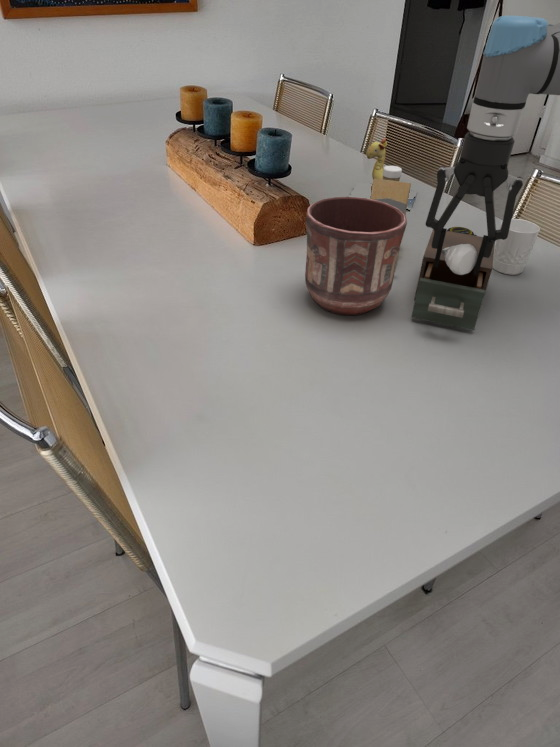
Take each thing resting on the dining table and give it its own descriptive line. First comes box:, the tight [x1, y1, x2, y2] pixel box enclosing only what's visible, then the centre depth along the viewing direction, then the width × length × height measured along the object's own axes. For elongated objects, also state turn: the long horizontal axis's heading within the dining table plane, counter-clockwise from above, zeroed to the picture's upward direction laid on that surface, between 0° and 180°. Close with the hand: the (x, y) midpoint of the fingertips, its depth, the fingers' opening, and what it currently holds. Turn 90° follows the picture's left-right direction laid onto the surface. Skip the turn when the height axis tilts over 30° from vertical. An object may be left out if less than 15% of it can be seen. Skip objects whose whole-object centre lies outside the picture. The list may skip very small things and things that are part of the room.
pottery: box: [304, 196, 408, 316], centre depth 102 cm, size 18×18×18 cm
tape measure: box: [446, 226, 478, 236], centre depth 129 cm, size 7×7×4 cm
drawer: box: [411, 262, 486, 331], centre depth 102 cm, size 18×11×8 cm, turn 160°
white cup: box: [492, 218, 541, 276], centre depth 119 cm, size 8×8×10 cm
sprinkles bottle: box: [383, 165, 403, 182], centre depth 138 cm, size 5×5×13 cm
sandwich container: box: [370, 179, 412, 269], centre depth 120 cm, size 9×15×15 cm, turn 166°
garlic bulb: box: [441, 244, 478, 275], centre depth 98 cm, size 6×6×5 cm
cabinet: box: [413, 229, 496, 302], centre depth 110 cm, size 15×13×10 cm
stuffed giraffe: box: [366, 137, 416, 209], centre depth 151 cm, size 16×18×16 cm
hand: (455, 268), depth 99 cm, fingers closed on garlic bulb, 6 cm apart
